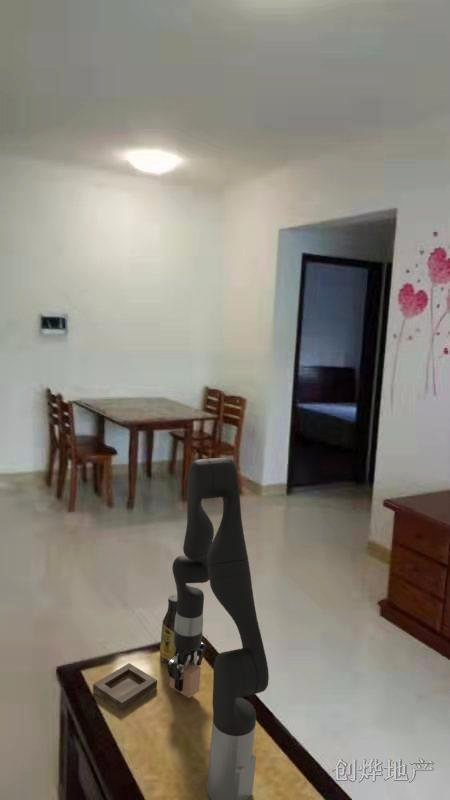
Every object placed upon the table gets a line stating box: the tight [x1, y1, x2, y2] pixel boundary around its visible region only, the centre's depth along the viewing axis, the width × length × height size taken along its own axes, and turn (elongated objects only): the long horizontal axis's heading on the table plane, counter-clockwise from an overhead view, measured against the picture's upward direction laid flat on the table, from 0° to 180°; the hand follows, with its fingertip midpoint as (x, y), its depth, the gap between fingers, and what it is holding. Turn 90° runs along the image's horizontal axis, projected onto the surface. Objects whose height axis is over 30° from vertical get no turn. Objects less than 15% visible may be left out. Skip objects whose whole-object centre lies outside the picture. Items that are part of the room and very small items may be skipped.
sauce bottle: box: [159, 593, 177, 664], centre depth 178 cm, size 7×6×20 cm
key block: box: [169, 663, 202, 699], centre depth 164 cm, size 7×4×7 cm, turn 53°
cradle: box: [92, 662, 158, 713], centre depth 164 cm, size 11×13×2 cm
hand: (184, 685), depth 164 cm, fingers closed on key block, 4 cm apart
